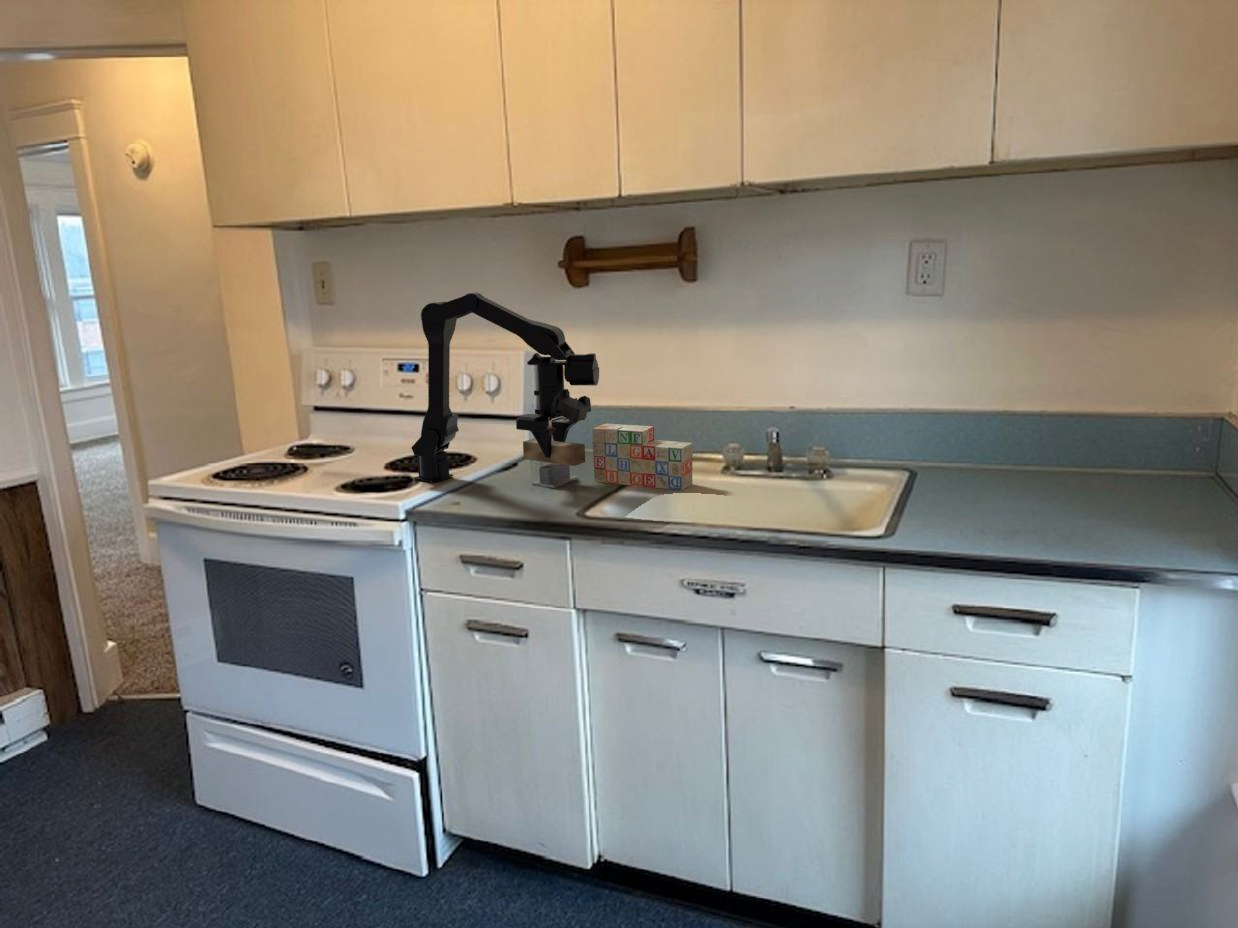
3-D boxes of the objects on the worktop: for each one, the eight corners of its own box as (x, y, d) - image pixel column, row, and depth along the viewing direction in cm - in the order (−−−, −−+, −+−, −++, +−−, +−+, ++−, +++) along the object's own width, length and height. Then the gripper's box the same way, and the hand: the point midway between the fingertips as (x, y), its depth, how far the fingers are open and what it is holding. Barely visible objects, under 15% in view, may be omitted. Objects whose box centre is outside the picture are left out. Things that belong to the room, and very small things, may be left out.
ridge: (532, 485, 190) (531, 467, 189) (556, 476, 198) (555, 458, 197) (554, 488, 187) (553, 470, 186) (577, 478, 195) (577, 461, 194)
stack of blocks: (693, 484, 188) (693, 428, 185) (681, 491, 182) (681, 434, 180) (606, 475, 198) (605, 422, 195) (593, 481, 192) (591, 427, 189)
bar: (523, 459, 193) (522, 441, 192) (534, 455, 197) (534, 438, 196) (574, 465, 186) (574, 447, 185) (585, 462, 189) (584, 444, 188)
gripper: (555, 393, 176) (558, 468, 179) (605, 381, 191) (607, 450, 195) (512, 390, 181) (516, 462, 185) (564, 379, 197) (566, 446, 200)
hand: (553, 455), depth 191 cm, fingers closed on bar, 4 cm apart
